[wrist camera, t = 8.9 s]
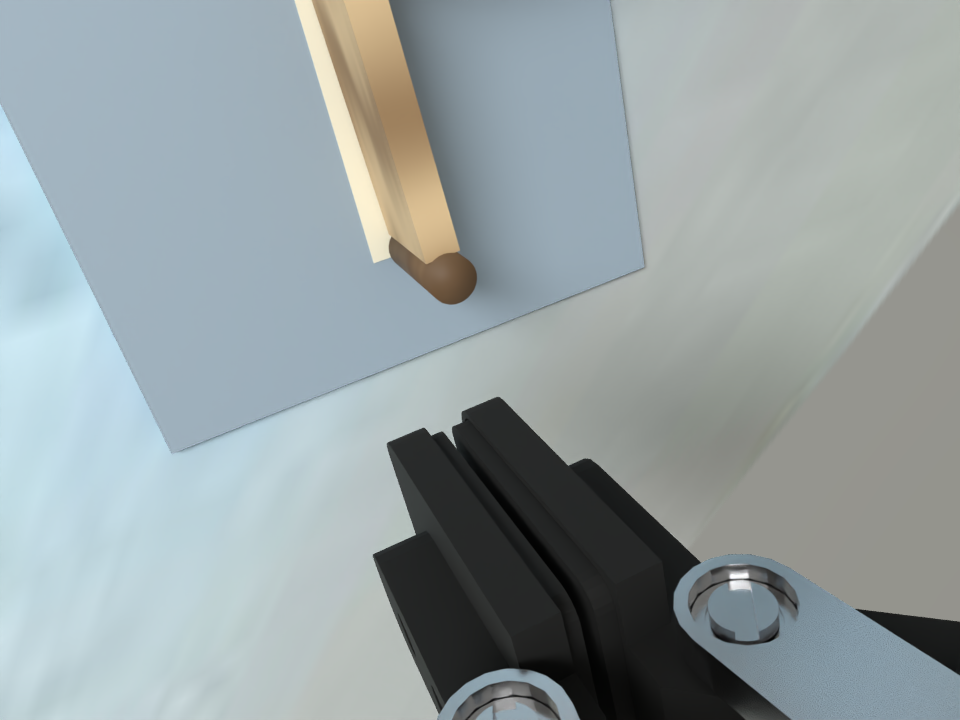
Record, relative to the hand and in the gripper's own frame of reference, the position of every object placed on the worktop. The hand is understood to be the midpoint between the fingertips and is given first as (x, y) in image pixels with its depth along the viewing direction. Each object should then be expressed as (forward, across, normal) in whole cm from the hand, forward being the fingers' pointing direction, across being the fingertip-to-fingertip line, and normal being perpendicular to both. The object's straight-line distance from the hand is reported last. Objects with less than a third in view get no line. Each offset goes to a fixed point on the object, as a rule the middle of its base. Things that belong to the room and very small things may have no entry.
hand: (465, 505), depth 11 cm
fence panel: (+18, -4, -2) cm, 19 cm away
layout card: (+19, -4, -3) cm, 20 cm away
